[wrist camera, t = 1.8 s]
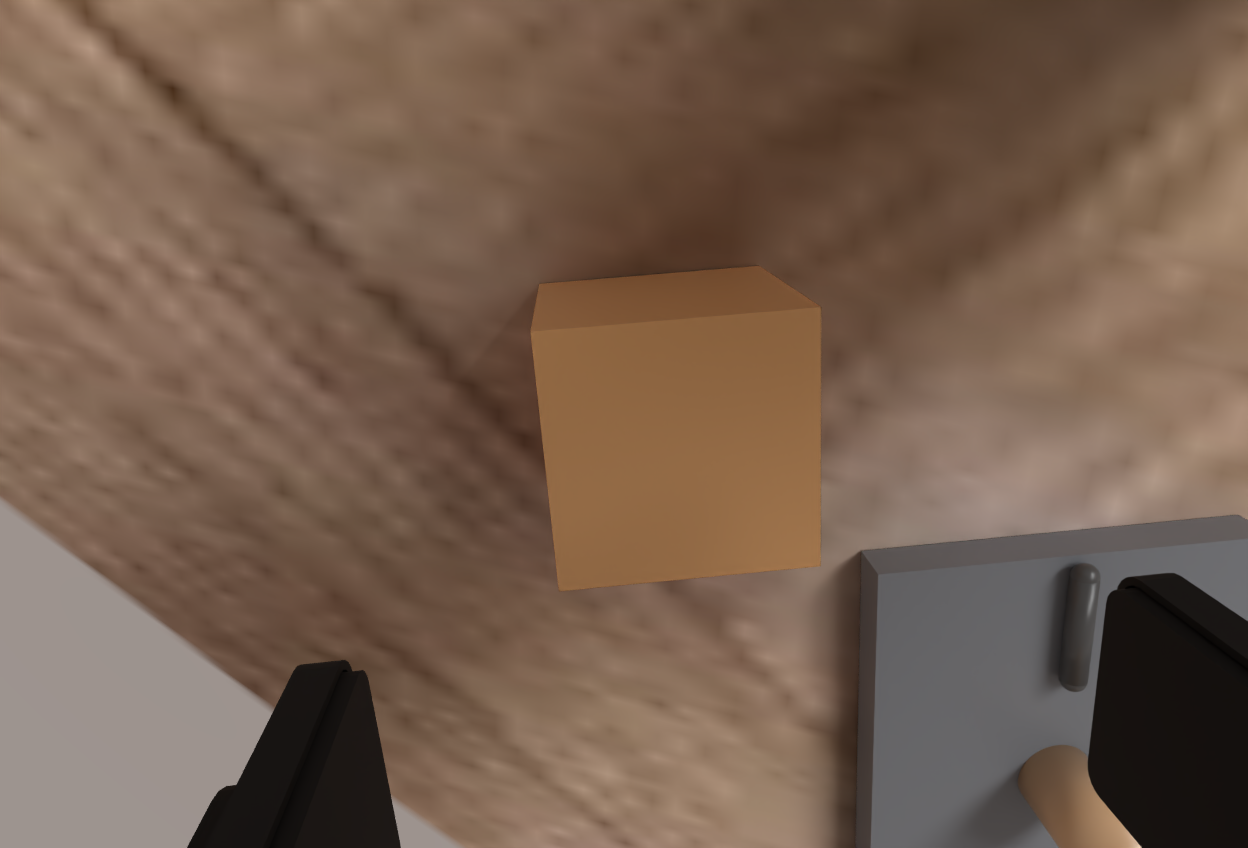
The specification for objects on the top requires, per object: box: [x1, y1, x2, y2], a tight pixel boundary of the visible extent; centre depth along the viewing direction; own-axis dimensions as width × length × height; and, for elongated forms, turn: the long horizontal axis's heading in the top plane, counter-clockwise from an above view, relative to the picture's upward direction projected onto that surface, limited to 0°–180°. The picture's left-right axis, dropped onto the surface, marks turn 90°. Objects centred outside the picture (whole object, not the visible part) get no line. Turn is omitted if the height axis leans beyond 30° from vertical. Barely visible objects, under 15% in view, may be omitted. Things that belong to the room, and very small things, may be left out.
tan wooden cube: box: [530, 266, 821, 591], centre depth 21 cm, size 6×6×6 cm
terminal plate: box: [855, 515, 1248, 848], centre depth 26 cm, size 16×12×6 cm
